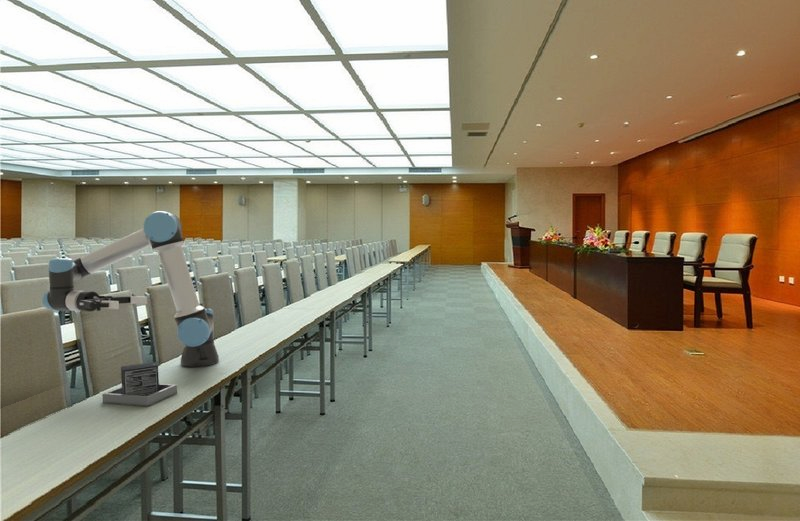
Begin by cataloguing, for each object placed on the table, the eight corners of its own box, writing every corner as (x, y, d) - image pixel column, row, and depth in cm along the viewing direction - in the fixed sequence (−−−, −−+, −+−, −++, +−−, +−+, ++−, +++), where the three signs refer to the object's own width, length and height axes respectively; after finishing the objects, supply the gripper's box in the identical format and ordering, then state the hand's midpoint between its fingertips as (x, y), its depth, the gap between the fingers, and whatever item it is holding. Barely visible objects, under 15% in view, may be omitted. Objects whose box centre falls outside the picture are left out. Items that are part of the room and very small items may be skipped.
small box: (156, 391, 175) (155, 360, 174) (159, 395, 169) (159, 364, 169) (121, 396, 169) (120, 365, 168) (124, 402, 163) (123, 369, 163)
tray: (134, 390, 178) (134, 381, 177) (177, 393, 174) (176, 384, 173) (102, 402, 164) (102, 393, 164) (147, 406, 160) (147, 397, 160)
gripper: (110, 306, 199) (157, 308, 194) (53, 316, 175) (105, 318, 170) (110, 287, 199) (156, 288, 194) (52, 294, 175) (104, 296, 170)
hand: (132, 302), depth 182 cm, fingers open, 13 cm apart
